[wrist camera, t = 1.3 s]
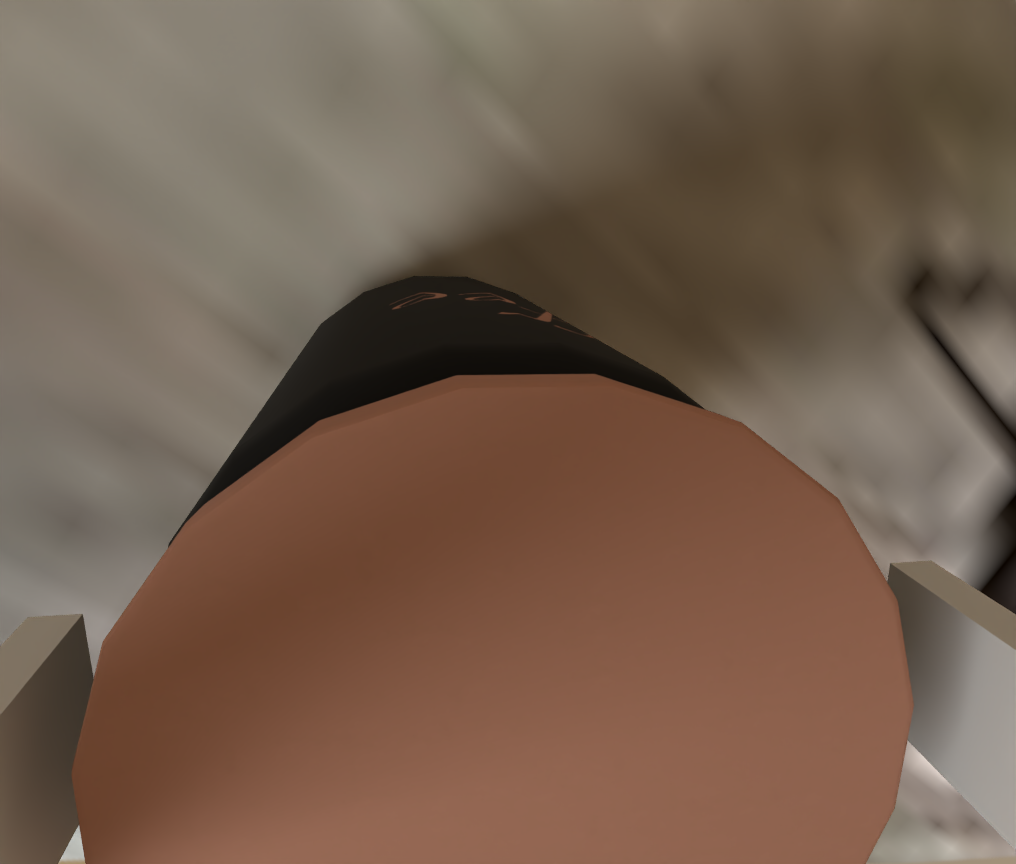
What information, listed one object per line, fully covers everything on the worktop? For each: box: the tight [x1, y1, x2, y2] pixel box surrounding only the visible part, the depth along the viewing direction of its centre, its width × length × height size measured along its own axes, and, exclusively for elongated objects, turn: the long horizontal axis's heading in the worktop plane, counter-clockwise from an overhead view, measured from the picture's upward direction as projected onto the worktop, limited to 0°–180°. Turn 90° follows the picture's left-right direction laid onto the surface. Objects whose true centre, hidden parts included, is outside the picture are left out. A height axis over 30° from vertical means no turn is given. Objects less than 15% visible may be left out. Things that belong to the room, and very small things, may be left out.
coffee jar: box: [71, 276, 914, 864], centre depth 18 cm, size 11×11×18 cm
